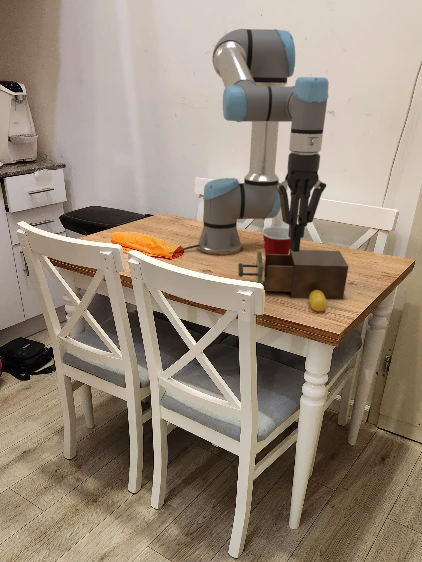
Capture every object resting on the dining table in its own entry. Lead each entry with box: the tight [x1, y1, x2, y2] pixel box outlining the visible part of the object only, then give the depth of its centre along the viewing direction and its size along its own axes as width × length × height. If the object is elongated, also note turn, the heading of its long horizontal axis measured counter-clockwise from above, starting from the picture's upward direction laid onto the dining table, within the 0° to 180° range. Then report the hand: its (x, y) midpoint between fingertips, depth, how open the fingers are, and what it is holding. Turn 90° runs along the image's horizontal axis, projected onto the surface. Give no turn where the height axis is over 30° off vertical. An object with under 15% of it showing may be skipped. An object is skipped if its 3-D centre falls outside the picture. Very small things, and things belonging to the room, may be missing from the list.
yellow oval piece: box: [308, 290, 328, 313], centre depth 130 cm, size 4×8×4 cm, turn 177°
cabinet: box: [289, 249, 349, 300], centre depth 140 cm, size 15×14×10 cm
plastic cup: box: [261, 226, 291, 258], centre depth 154 cm, size 11×11×12 cm
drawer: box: [237, 251, 294, 293], centre depth 140 cm, size 19×12×8 cm, turn 87°
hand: (294, 250), depth 128 cm, fingers closed
